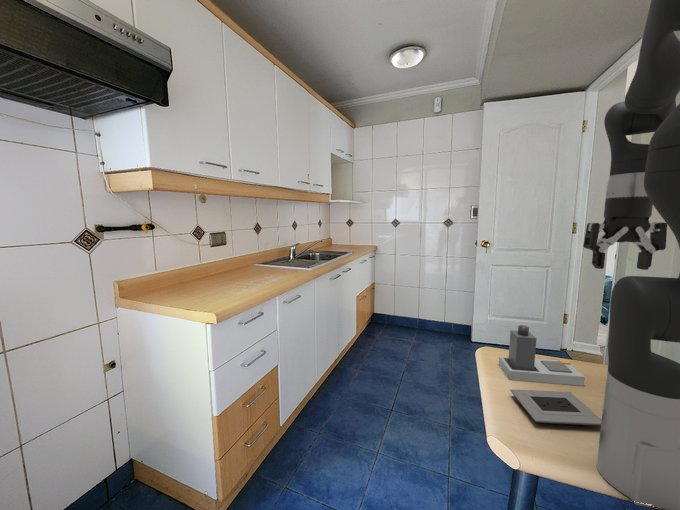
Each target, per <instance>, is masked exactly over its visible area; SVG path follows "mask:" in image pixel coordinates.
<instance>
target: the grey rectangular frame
mask: <svg viewBox="0 0 680 510" xmlns="http://www.w3.org/2000/svg"><path fill="white" fill-rule="evenodd" d="M508 360H509V356H501V355H499V356H498V365H499V364H500V365H499V367H500V366H501V367H500V368H501V369H503V370H502V371H503V373H504V374H505V375H506V377H507V378H508V380H511V381H522V382H523V381H524V382H532V383H535V382H536V383H546V384H557V385H558V384H560V385H567V386H568V385H570V386H580V387H582V386H585V379H586V376H584V374H582V372H580V371H578V370H577V369H576V368H575V367H574V366H573V365H572V362H570V361H569V360H567V359H566V360H564V359H557V360H555V359H541V358H535V363H534V371H522V370H512V369H511V368H510V366H509V365H508Z"/></svg>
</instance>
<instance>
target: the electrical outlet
mask: <svg viewBox="0 0 680 510" xmlns="http://www.w3.org/2000/svg"><path fill="white" fill-rule="evenodd" d="M510 392H511V394H513V396H514V397H515V398H516V399H517V401H518V402H519V403H520V405H521V406H522V407H523V409H524V410H525V411H526V412H527V413H528V415H529V416H530V417H531V418H532V420H533V421H534V422H535V423H537V424H551V425H555V424H556V425H570V426H571V425H574V426H575V425H576V426H592V427H594V426H595V427H601V421H602V417H600V416H598V414H596V413H595V412H594V411H593V410H592V409H591V408H589V406H588V405H586V404H585V403H584V402H582V401H581V399H579V398H578V397H577V396H576V395H575V394H573V393H572V392H571V391H561V390H560V391H559V390H558V391H557V390H556V391H555V390H538V389H537V390H536V389H535V390H534V389H533V390H532V389H512V388H511V389H510Z"/></svg>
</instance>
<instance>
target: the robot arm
mask: <svg viewBox="0 0 680 510" xmlns="http://www.w3.org/2000/svg"><path fill="white" fill-rule="evenodd" d="M675 32H680V0H651V1H650V6H649V9H648V14H647V17H646V23H645V26H644V31H643V35H642V39H641V44H640V47H639V48H640V49H639V55H638V60H637V61H638V62H637V65H636V68H635V69H636V70H635V73H634V75H633V78H632V80H631V82H630V84H629V87H628V89H627V92H626V94H625V96H624V101H619V102H617V103H614V104H613V105H612V106H611V107H610V108H609V109H608V110H607V112H606V114H605V115H604V123H603V125H604V129H605V133H606V136H607V139H608V143H609V149H610V169H609V177H608V182H607V185H606V191H605V201H604V210H603V211H604V212H603V217H604V221H603V222H602V223H599V222H588V223H587V224H586V228H585V234H584V241H583V248H584V249H585V250H590V251H591V252H592V261H591V265H592V266H593V267H594V269H599V270H603V269H604V268H605V261H606V251H607V250H608V249H609V248H610V246H613V245H614V244H615V243H625V242H626V243H632V244H633V245H635V246H636V247H637V249H639V252H638V254H637V255H638V256H637V261H636V268H637V269H638V270H641V271H642V270H643V271H648V270H649V268H650V267H651V266H652V261H653V255H654V253H655V252H658V251H664V250H666V248H667V235H668V233H667V232H668V227H669V229H670V231H671V232H672V233H673V235H674V237H675V239H676V241H677V243H678V249H680V103H679V104H678V105H677V101H676V98H677V96H678V95H679V93H680V39H679V38H678V37H677V35H676V34H675ZM651 133H653V135H652V136H651V137H650V141H649V143H635V142H631V141H630V139H628V138H627V136H633V135H634V136H635V135H643V134H651ZM653 207H654V208H655V210H656V211H657V212H658V214H659V216H661V218H662V219H663V221H664V222H661V221H658V222H654V221H653V222H651V223H650V221H649V219H650V217H652V213H653ZM602 231H603V235H601V236H600V237H599V234H600V233H601V232H602ZM648 231H649V232H650V233H649V236H648V235H647V234H646V233H647V232H648ZM610 295H611V296H610V301H609V327H608V328H609V329H608V340H607V357H608V362H607V363H608V365H607V373H606V380H605V389H604V398H603V406H602V413H601V419H602V421H601V426H600V429H599V430H600V432H599V441H598V449H597V459H596V467H597V470H598V472H599V475H600V476H601V477H602V478H603V479H604V480H605V481H607V483H608V484H609V485H610V486H612V487H613V488H614V489H616V490H617V491H619V492H620V493H621V494H623V495H625V496H626V497H628V498H629V499H630V500H631V501H632V502H633V501H635V502H633V504H635V505H636V506H640V507H647V508H655V507H657V508H655V509H660V510H680V363H679V362H677V361H676V360H673V359H671V358H668V357H665V356H663V355H661V354H658V353H655V352H653V351H652V347H651V346H652V345H651V344H652V343H651V342H652V340H653V341H661V342H670V343H677V344H678V343H679V344H680V272H679V274H678V277H664V276H663V277H662V276H643V275H627V276H624V277H620V278H619V279H618V280H617V281H616V282H615V284H614V286H613V288H612V291H611V294H610ZM636 502H639V503H636ZM641 502H642V503H644V504H646V503H647V504H652V505H651V506H654V507H651V506H647V505H644V504H640V503H641Z"/></svg>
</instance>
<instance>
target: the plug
mask: <svg viewBox="0 0 680 510" xmlns="http://www.w3.org/2000/svg"><path fill="white" fill-rule="evenodd" d="M509 333H510V334H509V348H508V357H509V360H508V365H509V366H510V368H511V369H512V370H522V371H534V363H535V359H536V352H537V351H536V349H537V337H536V336H535V335H533V334H532V332H530V327H528V326H527V325H521V324H520V325H518V326H517V330H510V332H509Z"/></svg>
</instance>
